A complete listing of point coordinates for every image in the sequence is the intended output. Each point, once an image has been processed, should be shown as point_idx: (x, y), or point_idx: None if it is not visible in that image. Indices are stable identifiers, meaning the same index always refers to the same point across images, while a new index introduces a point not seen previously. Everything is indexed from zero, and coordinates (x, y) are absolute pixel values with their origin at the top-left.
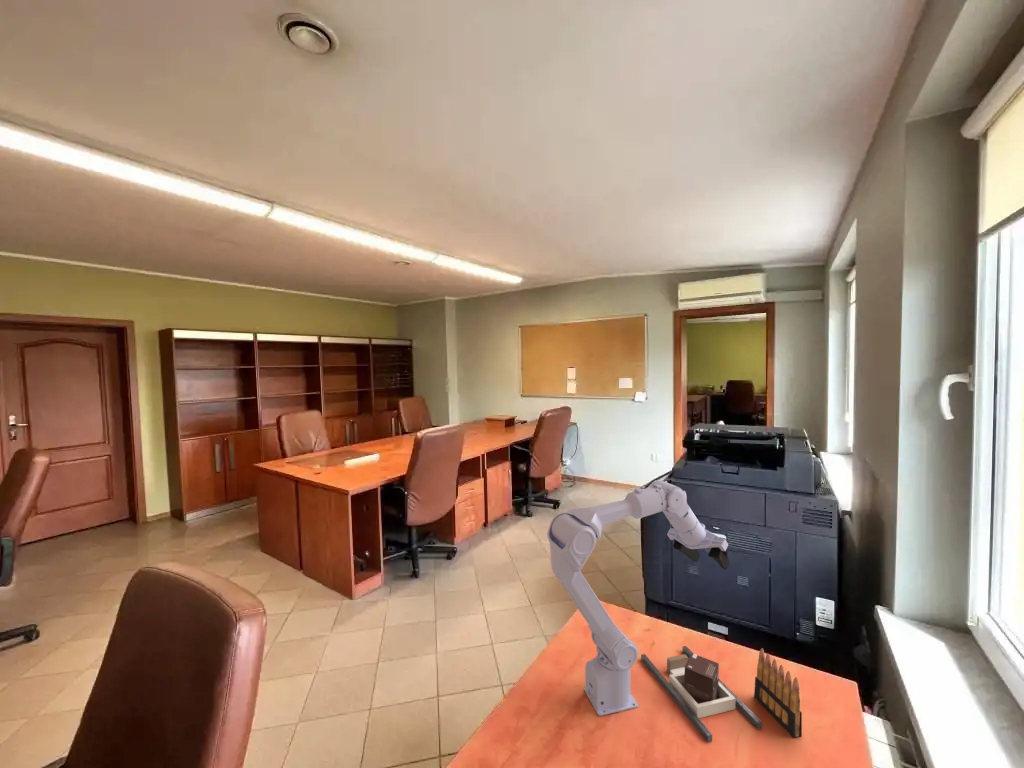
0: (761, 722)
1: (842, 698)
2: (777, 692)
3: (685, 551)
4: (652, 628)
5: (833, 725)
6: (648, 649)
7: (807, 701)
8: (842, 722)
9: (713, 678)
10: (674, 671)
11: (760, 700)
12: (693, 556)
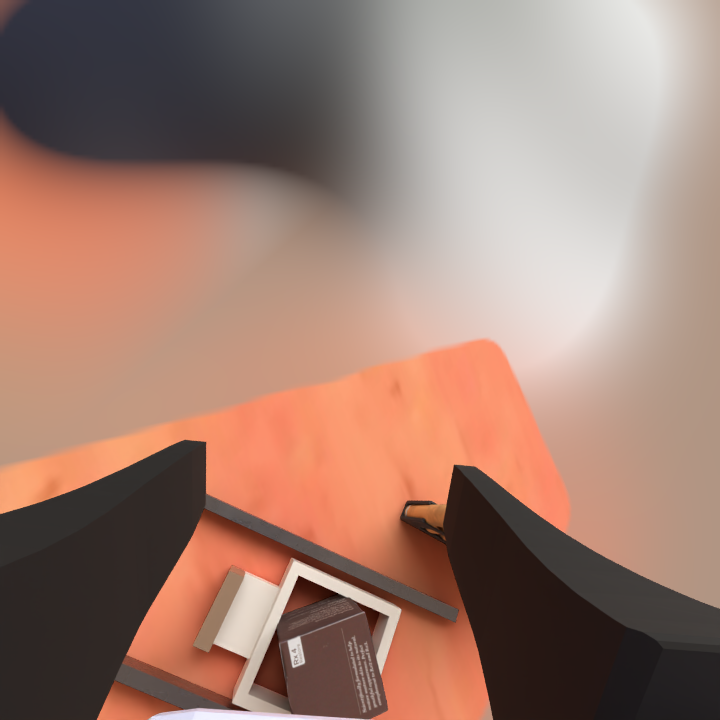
0: (457, 611)
1: (499, 370)
2: None
3: (94, 716)
4: (61, 470)
5: (519, 463)
6: None
7: (468, 432)
8: (523, 440)
9: (387, 706)
10: (225, 636)
11: (421, 529)
12: (174, 545)
